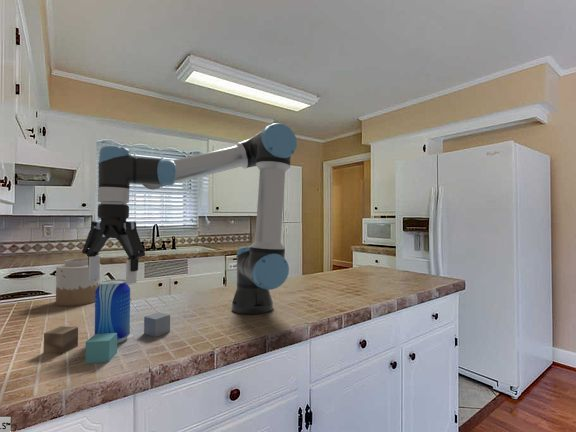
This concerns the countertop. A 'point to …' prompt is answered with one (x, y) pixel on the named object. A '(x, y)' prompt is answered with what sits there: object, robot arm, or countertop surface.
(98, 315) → the beer can
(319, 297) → the countertop surface
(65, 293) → the vase
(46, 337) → the walnut cube
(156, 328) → the grey cube
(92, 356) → the teal cube
